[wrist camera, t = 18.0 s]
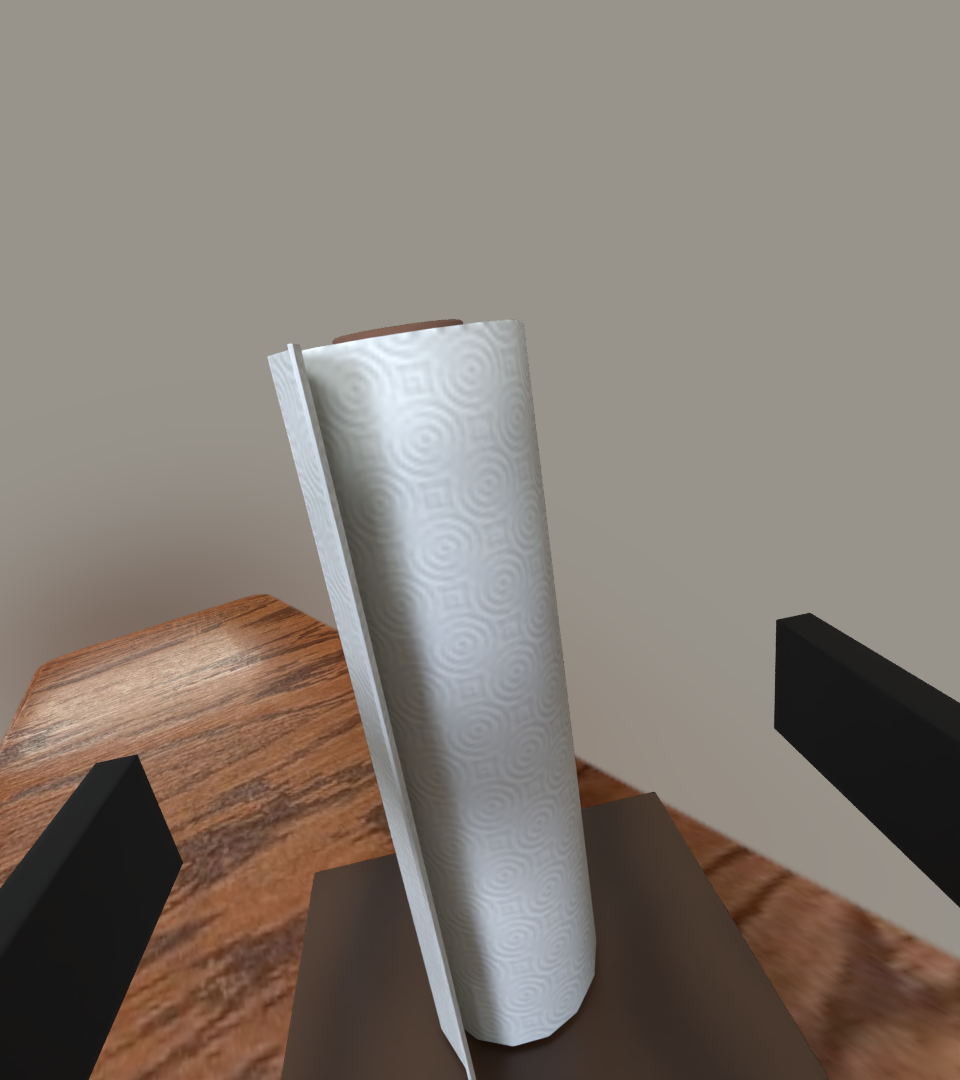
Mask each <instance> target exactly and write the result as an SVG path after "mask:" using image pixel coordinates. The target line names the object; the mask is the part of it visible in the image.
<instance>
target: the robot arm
mask: <svg viewBox="0 0 960 1080" xmlns="http://www.w3.org/2000/svg"><path fill="white" fill-rule="evenodd" d="M775 664H776V665H775V711H774V712H775V713H774V728H775V729H776V730H777V731H778V732H779V733H780V734H781V735H782V736H783V737H784V738H785V739H786V740H787V741H788V742H789V743H790V744H791V745H792V746H793V747H794V748H795V749H796V750H797V751H798V752H799V753H801V754H802V755H803V756H804V757H805V758H806V759H807V760H808V761H809V762H810V763H811V764H812V765H813V766H814V767H815V768H816V769H817V770H818V771H819V772H820V773H821V774H822V775H823V776H824V777H825V778H826V779H827V780H828V781H829V782H831V784H833V785H834V786H835V787H836V788H837V789H838V790H839V791H840V792H841V793H842V794H843V795H844V796H845V797H846V798H847V799H848V800H849V801H850V802H851V803H852V804H853V805H854V806H855V807H856V808H857V809H858V810H859V811H860V812H862V813H863V814H864V815H865V816H866V817H867V818H868V819H869V820H870V821H871V822H872V823H873V824H874V825H875V826H876V827H877V828H878V829H879V830H880V831H881V832H882V833H883V834H884V835H885V836H886V837H887V838H888V839H889V840H890V841H891V842H892V843H893V844H895V845H896V846H897V847H898V848H899V849H900V850H901V851H902V852H903V853H904V854H905V855H906V856H907V857H908V858H909V859H910V860H911V861H912V862H913V863H914V864H915V865H916V866H917V867H918V868H919V869H921V871H923V873H925V874H926V875H927V876H928V877H929V878H930V879H931V880H932V881H933V882H934V883H935V884H936V885H937V886H938V887H939V888H940V889H941V890H942V891H943V892H944V893H945V894H946V895H947V896H948V897H949V898H950V899H951V900H952V901H954V903H956V904H957V905H958V906H959V907H960V703H959V702H957V701H956V700H954V699H952V698H951V697H949V696H947V695H946V694H944V693H942V692H941V691H939V690H937V689H936V688H934V687H932V686H931V685H929V684H927V683H925V682H924V681H922V680H921V679H919V678H917V677H916V676H914V675H912V674H911V673H909V672H907V671H906V670H904V669H902V668H901V667H899V666H897V665H896V664H894V663H892V662H891V661H889V660H887V659H886V658H884V657H883V656H881V655H879V654H878V653H876V652H874V651H872V650H871V649H869V648H868V647H866V646H864V645H863V644H861V643H859V642H858V641H856V640H854V639H853V638H851V637H849V636H848V635H846V634H844V633H843V632H841V631H839V630H838V629H836V628H834V627H833V626H831V625H829V624H828V623H826V622H824V621H823V620H821V619H819V618H818V617H816V616H814V615H813V614H811V613H807V614H802V615H798V616H793V617H788V618H783V619H778V620H776V663H775ZM182 864H183V861H182V859H181V857H180V854H179V852H178V850H177V847H176V845H175V843H174V840H173V838H172V835H171V833H170V831H169V828H168V826H167V824H166V821H165V819H164V816H163V814H162V812H161V809H160V807H159V805H158V802H157V800H156V798H155V795H154V793H153V790H152V788H151V786H150V783H149V781H148V779H147V776H146V774H145V771H144V769H143V767H142V764H141V762H140V760H139V757H138V755H132V756H127V757H123V758H118V759H113V760H108V761H104V762H99V763H96V764H95V765H94V766H93V768H92V769H91V770H90V772H89V773H88V774H87V775H86V777H85V778H84V779H83V781H82V782H81V783H80V785H79V786H78V787H77V789H76V790H75V791H74V793H73V794H72V795H71V796H70V798H69V799H68V800H67V802H66V803H65V804H64V806H63V807H62V808H61V810H60V811H59V812H58V813H57V815H56V816H55V817H54V819H53V820H52V821H51V823H50V824H49V825H48V827H47V828H46V829H45V830H44V832H43V833H42V834H41V836H40V837H39V838H38V840H37V841H36V842H35V844H34V845H33V846H32V848H31V849H30V850H29V851H28V853H27V854H26V855H25V857H24V858H23V859H22V861H21V862H20V863H19V865H18V866H17V867H16V868H15V870H14V871H13V872H12V874H11V875H10V876H9V878H8V879H7V880H6V882H5V883H4V884H3V885H2V887H1V888H0V1080H89V1077H90V1075H91V1073H92V1071H93V1068H94V1066H95V1064H96V1061H97V1059H98V1057H99V1054H100V1052H101V1050H102V1048H103V1045H104V1043H105V1041H106V1038H107V1036H108V1034H109V1032H110V1029H111V1027H112V1025H113V1022H114V1020H115V1018H116V1015H117V1013H118V1011H119V1009H120V1006H121V1004H122V1002H123V999H124V997H125V995H126V992H127V990H128V988H129V986H130V983H131V981H132V979H133V976H134V974H135V972H136V970H137V967H138V965H139V963H140V960H141V958H142V956H143V953H144V951H145V949H146V947H147V944H148V942H149V940H150V937H151V935H152V933H153V931H154V928H155V926H156V924H157V921H158V919H159V917H160V914H161V912H162V910H163V908H164V905H165V903H166V901H167V898H168V896H169V894H170V891H171V889H172V887H173V885H174V882H175V880H176V878H177V875H178V873H179V871H180V869H181V866H182Z"/></svg>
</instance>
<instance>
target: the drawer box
mask: <svg viewBox="0 0 960 1080" xmlns="http://www.w3.org/2000/svg"><path fill="white" fill-rule="evenodd" d="M581 814H582V823H583V831H584V840H585V848H586V857H587V865H588V874H589V882H590V891H591V899H592V908H593V916H594V925H595V933H596V955H595V975H594V978H593V980H592V982H591V984H590V986H589V988H588V991H587V993H586V995H585V997H584V999H583V1001H582V1003H581V1005H580V1007H579V1009H578V1011H577V1013H575V1014H574V1015H573V1016H572V1017H571V1018H570V1019H569V1020H567V1021H566V1022H565V1023H564V1024H563V1025H562V1026H560V1027H559V1028H558V1029H557V1030H556V1031H555V1032H553V1033H552V1034H551V1035H550V1036H549V1037H545V1038H542V1039H538V1040H534V1041H531V1042H527V1043H524V1044H520V1045H516V1046H508V1045H503V1044H498V1043H493V1042H488V1041H483V1040H478V1039H476V1038H475V1037H474V1036H472V1035H471V1034H470V1033H469V1032H467V1031H466V1030H465V1029H464V1031H465V1035H466V1039H467V1043H468V1048H469V1052H470V1056H471V1060H472V1064H473V1068H474V1073H475V1077H476V1080H830V1079H829V1077H828V1076H827V1074H826V1072H825V1071H824V1069H823V1068H822V1066H821V1064H820V1063H819V1061H818V1059H817V1058H816V1056H815V1054H814V1053H813V1051H812V1049H811V1048H810V1046H809V1045H808V1043H807V1041H806V1040H805V1038H804V1036H803V1035H802V1033H801V1031H800V1030H799V1028H798V1026H797V1025H796V1023H795V1021H794V1020H793V1018H792V1017H791V1015H790V1013H789V1012H788V1010H787V1008H786V1007H785V1005H784V1003H783V1002H782V1000H781V998H780V997H779V995H778V993H777V992H776V990H775V989H774V987H773V985H772V984H771V982H770V980H769V979H768V977H767V975H766V974H765V972H764V970H763V969H762V967H761V965H760V964H759V962H758V961H757V959H756V957H755V956H754V954H753V952H752V951H751V949H750V947H749V946H748V944H747V942H746V941H745V939H744V937H743V936H742V934H741V933H740V931H739V929H738V928H737V926H736V924H735V923H734V921H733V919H732V918H731V916H730V914H729V913H728V911H727V909H726V908H725V906H724V905H723V903H722V901H721V900H720V898H719V896H718V895H717V893H716V891H715V890H714V888H713V886H712V885H711V883H710V882H709V880H708V878H707V877H706V875H705V873H704V872H703V870H702V868H701V867H700V865H699V863H698V862H697V860H696V858H695V857H694V855H693V854H692V852H691V850H690V849H689V847H688V845H687V844H686V842H685V840H684V839H683V837H682V835H681V834H680V832H679V830H678V829H677V827H676V826H675V824H674V822H673V821H672V819H671V817H670V816H669V814H668V812H667V811H666V809H665V807H664V806H663V804H662V802H661V801H660V799H659V798H658V796H657V794H656V793H655V792H651V793H647V794H643V795H638V796H634V797H630V798H626V799H622V800H617V801H613V802H609V803H605V804H601V805H596V806H592V807H588V808H584V809H581ZM281 1080H468V1075H467V1071H466V1068H465V1066H464V1065H463V1063H462V1061H461V1060H460V1058H459V1057H458V1055H457V1053H456V1052H455V1050H454V1048H453V1047H452V1045H451V1044H450V1042H449V1040H448V1039H447V1037H446V1035H445V1034H444V1032H443V1030H442V1029H441V1025H440V1021H439V1017H438V1013H437V1010H436V1006H435V1002H434V998H433V994H432V990H431V986H430V983H429V979H428V975H427V971H426V967H425V963H424V959H423V956H422V952H421V948H420V944H419V940H418V936H417V932H416V929H415V925H414V921H413V917H412V913H411V909H410V905H409V902H408V898H407V894H406V890H405V886H404V882H403V878H402V875H401V871H400V867H399V863H398V859H397V855H396V853H395V854H391V855H387V856H383V857H379V858H375V859H370V860H366V861H362V862H358V863H354V864H349V865H345V866H341V867H337V868H333V869H328V870H324V871H320V872H316V873H315V874H314V879H313V886H312V892H311V898H310V904H309V910H308V917H307V923H306V929H305V935H304V941H303V948H302V954H301V960H300V966H299V972H298V979H297V985H296V991H295V997H294V1003H293V1009H292V1016H291V1022H290V1028H289V1034H288V1040H287V1047H286V1053H285V1059H284V1065H283V1071H282V1078H281Z"/></svg>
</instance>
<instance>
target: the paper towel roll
mask: <svg viewBox="0 0 960 1080" xmlns="http://www.w3.org/2000/svg"><path fill="white" fill-rule="evenodd" d="M332 342H333V345H328V346H323V347H317V348H312V349H307V350H303V351H301V347H300V345H298V344H288V345H287V346H288V350H287V351H284V352H281V353H277V354H274V355H271V356H268V361H269V365H270V369H271V373H272V377H273V381H274V384H275V388H276V392H277V396H278V400H279V404H280V408H281V411H282V415H283V419H284V423H285V426H286V430H287V435H288V439H289V442H290V446H291V450H292V454H293V458H294V462H295V465H296V469H297V473H298V477H299V481H300V485H301V489H302V493H303V496H304V500H305V504H306V508H307V512H308V516H309V520H310V523H311V527H312V531H313V535H314V539H315V542H316V547H317V550H318V554H319V558H320V562H321V566H322V570H323V573H324V577H325V581H326V585H327V589H328V593H329V596H330V601H331V604H332V608H333V612H334V616H335V620H336V623H337V628H338V631H339V635H340V639H341V643H342V647H343V651H344V655H345V658H346V662H347V666H348V670H349V674H350V678H351V682H352V685H353V689H354V693H355V697H356V701H357V705H358V709H359V712H360V716H361V720H362V724H363V728H364V732H365V736H366V740H367V743H368V747H369V751H370V755H371V759H372V763H373V767H374V770H375V774H376V778H377V782H378V786H379V790H380V794H381V797H382V801H383V805H384V809H385V813H386V817H387V821H388V824H389V828H390V832H391V836H392V840H393V844H394V848H395V851H396V855H397V859H398V863H399V867H400V871H401V875H402V878H403V882H404V886H405V890H406V894H407V898H408V902H409V905H410V909H411V913H412V917H413V921H414V925H415V929H416V932H417V936H418V940H419V944H420V948H421V952H422V956H423V959H424V963H425V967H426V971H427V975H428V979H429V983H430V986H431V990H432V994H433V998H434V1002H435V1006H436V1010H437V1013H438V1017H439V1021H440V1025H441V1029H442V1030H443V1032H444V1034H445V1035H446V1037H447V1039H448V1040H449V1042H450V1044H451V1045H452V1047H453V1048H454V1050H455V1052H456V1053H457V1055H458V1057H459V1058H460V1060H461V1061H462V1063H463V1065H464V1066H465V1068H466V1071H467V1075H468V1080H476V1077H475V1073H474V1068H473V1064H472V1060H471V1056H470V1052H469V1048H468V1043H467V1039H466V1035H465V1031H464V1029H465V1030H466V1031H467V1032H469V1033H470V1034H471V1035H472V1036H474V1037H475V1038H476V1039H478V1040H483V1041H488V1042H493V1043H498V1044H503V1045H508V1046H516V1045H520V1044H524V1043H527V1042H531V1041H534V1040H538V1039H542V1038H545V1037H549V1036H550V1035H551V1034H552V1033H553V1032H555V1031H556V1030H557V1029H558V1028H559V1027H560V1026H562V1025H563V1024H564V1023H565V1022H566V1021H567V1020H569V1019H570V1018H571V1017H572V1016H573V1015H574V1014H575V1013H577V1011H578V1009H579V1007H580V1005H581V1003H582V1001H583V999H584V997H585V995H586V993H587V991H588V988H589V986H590V984H591V982H592V980H593V978H594V975H595V955H596V933H595V925H594V916H593V908H592V899H591V891H590V882H589V874H588V865H587V857H586V848H585V840H584V831H583V823H582V814H581V806H580V797H579V789H578V780H577V772H576V763H575V755H574V747H573V738H572V729H571V721H570V713H569V704H568V695H567V687H566V678H565V670H564V661H563V653H562V644H561V636H560V628H559V619H558V611H557V602H556V593H555V585H554V576H553V568H552V559H551V551H550V543H549V535H548V526H547V517H546V509H545V500H544V492H543V483H542V475H541V466H540V458H539V449H538V441H537V432H536V424H535V415H534V406H533V398H532V390H531V381H530V372H529V364H528V356H527V347H526V338H525V330H524V323H523V321H522V320H516V319H510V320H500V321H488V322H478V323H471V324H463V322H462V321H461V320H456V319H451V320H438V321H428V322H421V323H412V324H406V325H399V326H393V327H386V328H380V329H375V330H369V331H363V332H359V333H354V334H349V335H345V336H341V337H338V338H336V339H334V340H333V341H332Z"/></svg>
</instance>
